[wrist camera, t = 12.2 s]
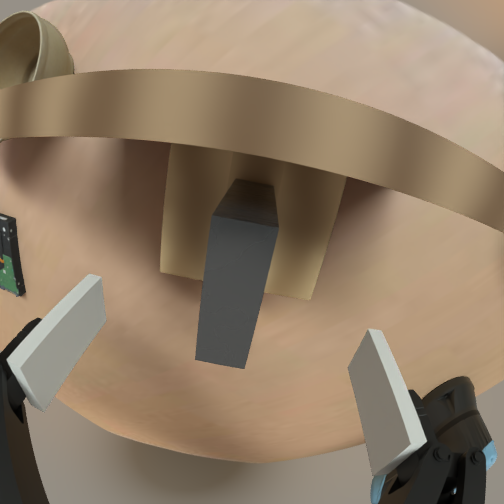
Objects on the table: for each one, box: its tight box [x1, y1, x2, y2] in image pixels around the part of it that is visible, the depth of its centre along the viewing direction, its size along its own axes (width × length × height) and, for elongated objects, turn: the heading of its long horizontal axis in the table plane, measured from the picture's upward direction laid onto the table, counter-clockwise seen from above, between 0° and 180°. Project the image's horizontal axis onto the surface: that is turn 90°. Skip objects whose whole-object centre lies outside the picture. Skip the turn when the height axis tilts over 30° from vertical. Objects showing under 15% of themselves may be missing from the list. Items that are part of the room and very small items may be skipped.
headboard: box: [0, 69, 504, 300], centre depth 21 cm, size 32×16×20 cm, turn 80°
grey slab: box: [195, 179, 279, 369], centre depth 22 cm, size 3×9×16 cm, turn 170°
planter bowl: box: [0, 11, 74, 142], centre depth 20 cm, size 16×16×11 cm
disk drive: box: [0, 213, 26, 297], centre depth 35 cm, size 10×3×15 cm
